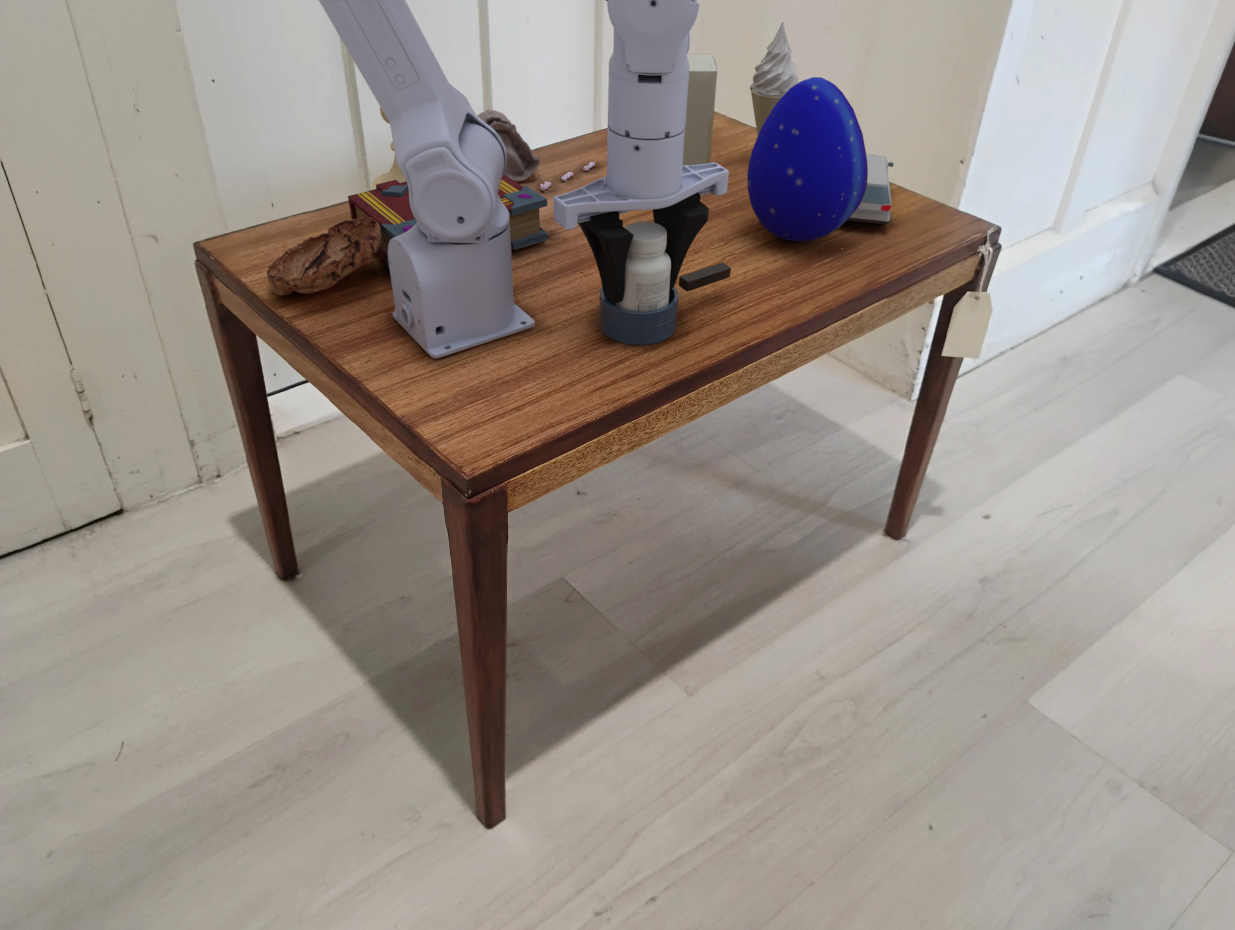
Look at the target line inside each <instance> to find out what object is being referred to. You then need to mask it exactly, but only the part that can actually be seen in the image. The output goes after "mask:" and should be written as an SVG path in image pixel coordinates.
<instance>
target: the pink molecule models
mask: <svg viewBox="0 0 1235 930" xmlns="http://www.w3.org/2000/svg"><path fill="white" fill-rule="evenodd" d="M595 166H596V162H594V161H591V162H589V163H588V164H587V165H584V166H583V169H582V170H583V171H585V172H590V169H592V168H593V167H595ZM563 174H564V175H561V176H560V180H561V181H562V182H567V181H568V179H571V177H573V176H574V174H575V173H574V172H573V171H567V172H566V173H563ZM552 184H553V183H552V182H550V181H546V180H545V181H544V182H543V183H540V184H539V186H540V190H541V191H542V192H545V191H546V190H548V189H549V187H551V186H552Z"/></svg>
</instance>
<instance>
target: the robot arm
mask: <svg viewBox="0 0 1235 930" xmlns="http://www.w3.org/2000/svg"><path fill="white" fill-rule="evenodd" d="M318 2H319V3H320V5H321V7H322V8H323V11H324V12H325V14H326V16H327V17H328V19H329V20H330V22H331V24H332V26H333V27H334V29H335V31H336V32H337V35H338V36H339V38H340V39H341V41H342V43H343V45H344V46H345V48H346V50H347V52H348V53H349V55H350V57H351V58H352V60H353V62H354V64H355V65H356V67H357V69H358V71H359V73H360V74H361V76H362V77H363V79H364V81H365V82H366V84H367V86H368V88H369V90H370V91H371V93H372V95H373V96H374V99H375V100H376V102H377V103H378V105H379V108H380V107H381V108H382V110H383V112H384V114H385V115H386V117H387V119H388V121H389V123H390V124H389V127H390V131H391V138H392V142H393V144H394V151H393V152H394V157H395V156H396V161H397V164H398V166H399V168H400V169H401V171H402V173H403V175H404V177H405V178H406V181H407V184H408V189H409V203H410V207H411V210H412V213H413V215H414V217H415V219H416V220H417V223H416V224H415V225H414V226H413V227H412V228H411V229H409V230H408V231H407V232H405V233H403V234H401V235H399V236H396V237H394V238H392V239H391V240H390V241H389V244H388V262H389V267H388V269H389V274H390V275H389V276H390V281H391V282H390V283H391V290H392V297H393V304H394V311H393V312H392V317H393V319H394V320H395V321H396V322H397V323H398V324H399V325H400V326H401V327H402V329H404V330H405V331H406V333H408V335H409V336H411V338H412V339H413V340H414V341H415V342H416V343H417V344H418V345H419V346H420V347H421V348H422V349H423V351H425V352H426V354H428V356H429V357H430V358H432V359H439V358H443V357H446V356H450V355H452V354H456V353H459V352H462V351H465V350H467V349H471V348H474V347H477V346H480V345H483V344H486V343H489V342H493V341H496V340H498V339H502V338H505V337H507V336H511V335H514V334H517V333H520V332H524V331H526V330H529V329H533V328H534V327H535V325H536V321H535V319H533V318H532V317H531V316H530V315H529V314H528V313H526V312H525V310H523V309H522V308H521V307H519V306H518V305H517V304H516V303H515V300H514V299H515V297H514V296H515V295H514V280H513V259H512V248H511V237H510V215H509V211H508V210H507V208H506V207H505V205H504V204H503V203H502V201H501V199H500V197H499V195H498V190H499V186H500V182H501V179H502V177H503V175H504V173H505V170H506V165H507V154H506V149H505V146H504V143H503V142H502V140H501V138H500V136H499V135H498V134H497V132H496V131H495V130H494V129H493V128H492V127H490V126H489V125H488V124H486V123H485V122H484V121H482V120H481V119H480V118H479V117H478V114H477V113H476V112H475V111H474V109H473V107H472V106H471V104H470V102H469V100H468V97H467V96H465V94H463V93H462V92H461V91H460V90H458V88H456V87H454V86H453V85H452V84H451V83H450V82H449V80H448V79H447V77H446V74H445V72H444V71H443V69H442V68H441V65H440V63H439V61H438V59H437V58H436V56H435V54H434V51H433V50H432V48H431V46H430V44H429V42H428V40H427V38H426V37H425V35H424V33H423V31H422V29H421V27H420V25H419V24H418V22H417V19H416V17H415V16H414V14H413V12H412V10H411V9H410V7H409V5H408V3H407V0H318ZM605 2H606V6H607V13H608V17H609V20H610V23H611V25H612V27H613V43H612V44H613V45H612V46H613V47H612V54H611V56H610V58H609V60H608V89H607V135H606V137H607V140H606V142H607V144H606V175H605V176H603V177H600V178H598V179H596V180H593V181H591V182H589V183H587V184H585V185H582V186H581V187H578V188H576V189H574V190H573V189H572V190H571V191H568V192H565V193H561V194H558V195H554V196H553V220H554V222H555V223H557V224H558V225H559V226H560V227H561V228H563V230H565V231H570V230H574V229H577V228H578V226H579V227H580V229H581V231H582V233H583V235H584V237H585V238H586V240H587V244H588V245H589V247H590V250H591V252H592V254H593V258H594V260H595V263H596V267H597V270H598V274H599V278H600V282H601V287H602V288H603V293H604V294H605V295H606V296H607V297H608V298H609V299H610V300H612V301H613V302H614V303H618V302H622V301H623V297H624V289H625V267H626V261H627V256H628V251H629V248H630V244H631V242H632V239H633V236H634V235H633V234H632V233H631V232H629V231H628V230H627V229H626V228H625V227H624V220H623V219H621V218H620V215H621V214H624V213H625V214H626V213H630V212H633V211H648V210H649V211H650V210H651V211H652V218H653V223H657V224H659V225H661V226H663V227H664V228H665V229H666V231H667V244H666V249H665V252H666V253H667V254H668V255H669V257H670V260H671V274H670V288H674V286H675V287H676V283H677V280H678V277H679V274H680V271H681V268H682V266H683V263H684V261H685V258H686V256H687V253H688V252H689V249H690V247H691V246H692V244H693V242H694V240H695V239H696V237H697V235H698V234H699V232H701V230H702V229H703V227H705V225H706V224H707V222H709V215H710V208H709V207H708V206H707V205H706V204H705V203H703V202H701V196H703V195H708V194H712V195H714V196H717V197H719V196H722V195H727V193H728V185H729V175H730V171H729V170H728V169H727V168H725V167H724V166H722V165H721V164H719V163H717V162H715V161H713V162H711V163H708V164H700V165H683V152H684V139H685V126H686V112H687V97H688V82H689V68H690V65H689V61H688V59H687V54H689V50H690V47H691V35H690V31H691V30H692V28H693V27H694V25H695V22H696V20H697V17H698V14H699V9H700V3H699V2H698V1H697V0H605Z"/></svg>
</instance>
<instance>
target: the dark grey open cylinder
mask: <svg viewBox="0 0 1235 930" xmlns="http://www.w3.org/2000/svg"><path fill="white" fill-rule="evenodd" d="M679 295H680V294H679V291H678V289H677V287H676V285H675V286H674V288H670V290H669V305H667V306H666V307H664V308H661V309H658V310H654V311H646V312H639V311H629V310H624V309H621V308H618V307H616V306H615V305H616V303H614V302H613V301H612V300H610V299H609V298H608V297H607V296H606V295H605V294H604V293H603V288H602V286H601V287H600V289H599V309H598V310H599V311H598V312H599V313H598V314H599V315H598V316H599V317H598V319H599V320H598V321H599V322H598V323H599V329H600V330H601V332H602V333H603V334H604V335H605V336H606V337H607V338H609V339H611V340H613V341H616V342H617V343H621V344H624V345H630V346H631V345H632V346H647V345H648V346H649V345H655V344H659V343H661V342H663V341H665V340H668V339H669V338H670V337H672V335H674V334H675V332H676V330H677V325H678V313H679V311H678V310H679V297H680V296H679Z"/></svg>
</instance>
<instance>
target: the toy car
mask: <svg viewBox="0 0 1235 930" xmlns="http://www.w3.org/2000/svg"><path fill="white" fill-rule="evenodd" d="M866 156H867V166H868V179H867V187H866V191H865V194H864V196H863V199H862V201H861V204H860V205H859V206H858V208H857V209H856V211H855V212H854V213H853V214H852V215H851V216H850V217H849V219H848V220H847V221H851V222H862V223H871V224H879V225H889V224H890V222H891V221H890V220H891V211H892V207H893V205H892V196H891V188H890V187H891V186H890V177H889V167H890V168H893V167H894V162H893V161H889V162H888V158H887V156H886V155H880V154H874V153H867V152H866Z"/></svg>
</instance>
